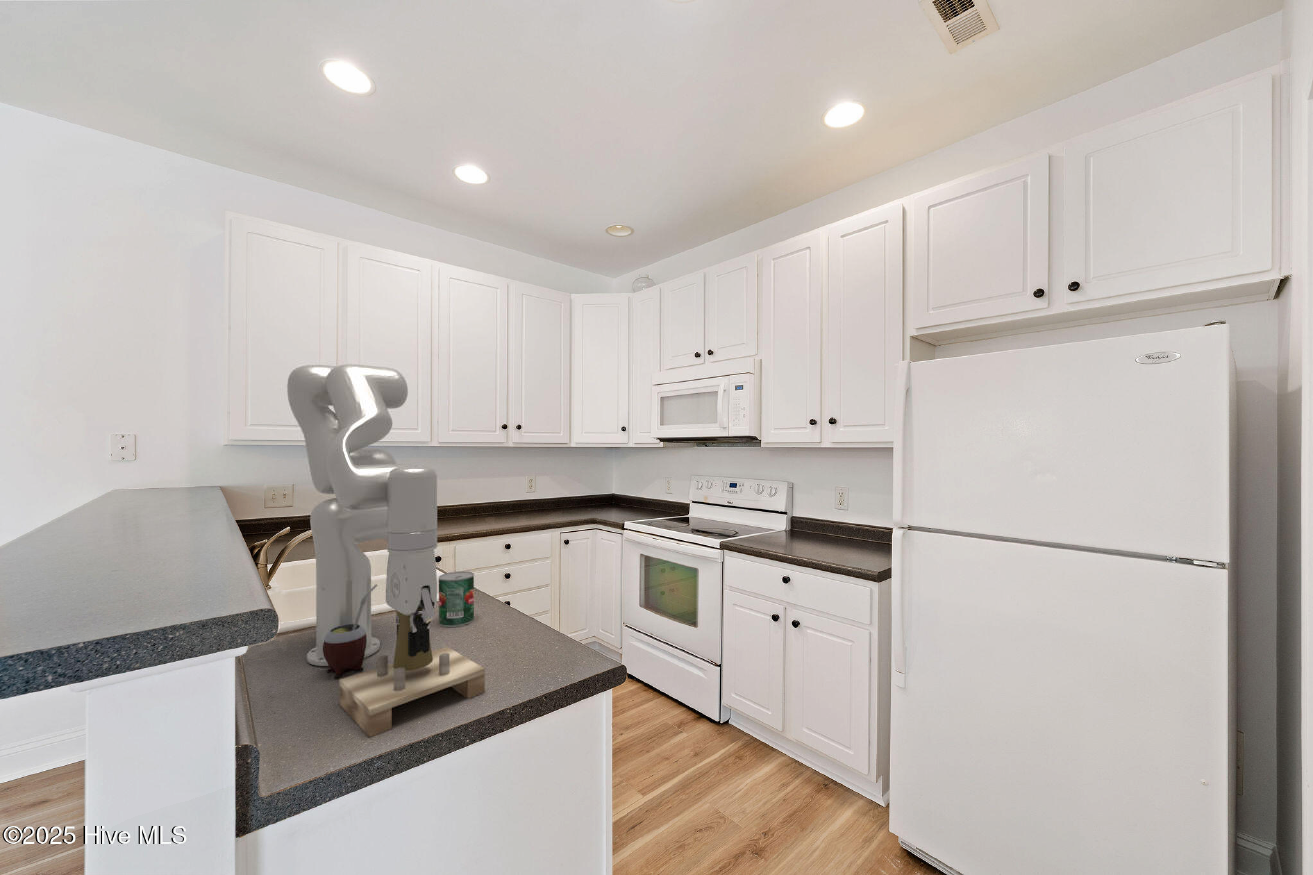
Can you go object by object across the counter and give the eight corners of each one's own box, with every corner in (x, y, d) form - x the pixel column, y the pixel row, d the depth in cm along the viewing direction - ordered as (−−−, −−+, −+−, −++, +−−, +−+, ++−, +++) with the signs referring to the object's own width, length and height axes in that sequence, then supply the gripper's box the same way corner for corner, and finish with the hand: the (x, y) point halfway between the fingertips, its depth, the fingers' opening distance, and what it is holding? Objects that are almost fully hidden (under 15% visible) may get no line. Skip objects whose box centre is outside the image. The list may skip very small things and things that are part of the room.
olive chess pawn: (438, 654, 89) (438, 591, 89) (423, 670, 83) (423, 602, 83) (403, 655, 89) (403, 591, 89) (385, 671, 83) (385, 602, 83)
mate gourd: (314, 680, 92) (314, 597, 92) (338, 662, 100) (338, 585, 100) (357, 679, 93) (357, 596, 93) (378, 660, 101) (378, 583, 101)
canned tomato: (433, 621, 123) (433, 575, 123) (466, 613, 128) (466, 569, 128) (445, 630, 117) (445, 581, 117) (479, 621, 122) (479, 575, 122)
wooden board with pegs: (339, 703, 84) (339, 661, 84) (447, 667, 97) (447, 630, 97) (369, 737, 74) (369, 688, 74) (484, 692, 88) (484, 650, 88)
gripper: (370, 537, 89) (370, 643, 89) (409, 551, 78) (410, 672, 78) (415, 531, 94) (415, 631, 94) (457, 543, 83) (458, 657, 83)
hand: (412, 648), depth 86 cm, fingers closed on olive chess pawn, 4 cm apart
